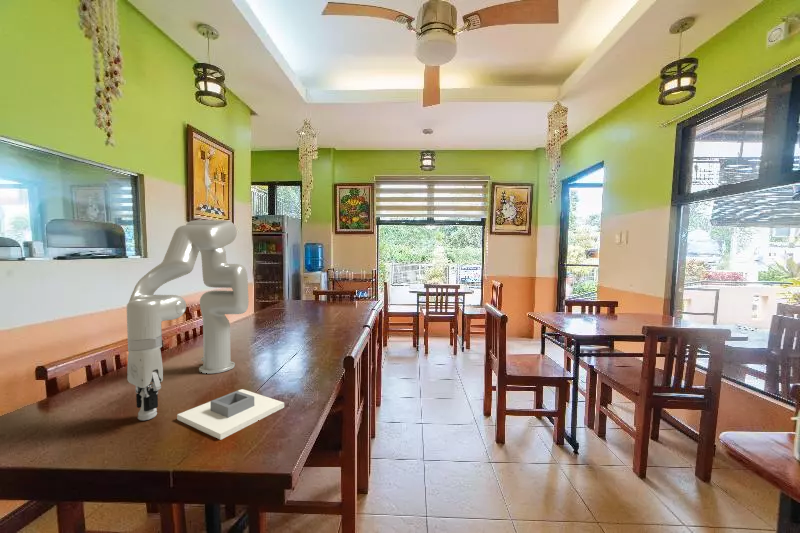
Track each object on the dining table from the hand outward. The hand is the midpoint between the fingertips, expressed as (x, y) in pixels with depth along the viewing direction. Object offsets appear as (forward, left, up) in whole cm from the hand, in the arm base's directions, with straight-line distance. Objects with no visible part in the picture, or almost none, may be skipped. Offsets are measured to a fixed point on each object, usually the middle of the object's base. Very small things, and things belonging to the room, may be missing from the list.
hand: (147, 406), depth 92 cm
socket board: (+18, +14, -3) cm, 23 cm away
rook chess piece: (0, 0, -3) cm, 3 cm away
